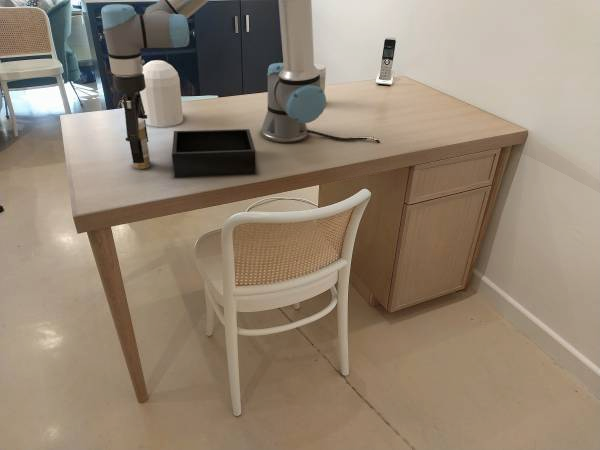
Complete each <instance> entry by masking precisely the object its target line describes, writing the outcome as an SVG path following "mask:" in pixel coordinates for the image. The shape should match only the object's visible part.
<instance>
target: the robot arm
mask: <svg viewBox="0 0 600 450" xmlns="http://www.w3.org/2000/svg"><path fill="white" fill-rule="evenodd" d="M209 1H210V0H158V1H157V2H155V3H153V4H150V5H149V6H148V7H146V8H145V10H144V14H139V13H137V12H136V11H135V8H134V6H132V5H130V4H122V3H121V4H120V3H115V4H113V3H112V4H107V5H104V6H103V7H101V11H100V14H101V21H102V29H103V34H104V38H105V44H106V48H107V54H108V61H109V66H110V72H111V74H113V75H112V82H113V86H114V90H115V91H117V92H118V93H122V94H124V97H123V99H122V101H123V102H122V104H123V108H124V118H125V127H126V137H125V141H126V142H129V146H130V152H131V153H130V154H131V158H132V163H133V164H134V163H144V157H143V151H142V145H141V139H140V137H139V124H138V118H141V119H147V115H144V114H145V111H144V107H143V103H142V99H141V95H140V91H143V90H144V89H145V88H146V84H145V78H144V74H143V73H142V72H143V66H144V65H145V64H146V63H145V60H144V59H143V58H142V52H141V49H165V48H166V49H170V48H171V49H172V48H173V49H178V48H184V47H188V46H189V44H190V29H189V22H188V19H189V18H190V17H191V16H192V15H194V14H195V13H196V12H197V11H199V10H200V8H202V7H203V6H205V4H207V3H208V2H209ZM312 6H313V5H312V0H278V12H279V13H278V15H279V25H280V36H281V37H280V39H281V48H282V49H281V51H282V62H276V63H275V62H274V63H271V64H270V65H269V66H268V67H267V74H266V77H267V111H266V114H265V117H264V120H263V123H262V126H261V135H262V137H263V138H264V139H266V140H268V141H271V142H274V143H275V142H276V143H281V144H290V143H298V142H301V141H303V140H305V139H307V136H308V134H313V135H318V136H320V137H324V138H329V139H332V140H336V141H345V142H348V141H358V140H360V141H362V140H363V141H364V140H368V139H367V138H352V137H339V136H334V135H331V134H326V133H322V132H319V131H315V130H312V129H308V126H307V124H308V123H311V122H314V121H316V120H317V119H318V118H319V117H321V115H322V114H323V112H324V111H325V109H326V106H327V95H326V94H325V91H323V90H322V89H321V88H320V71H319V70H318V69H317V68H316V67H315V66H314V64H315V53H314V30H313V29H314V28H313V7H312ZM144 122H145V120H144ZM145 133H146V138H147V143H149V136H148V131H147V124H146V123H145ZM133 135H134V136H133ZM372 137H373V138H374V136H372ZM371 140H372V141H375V142H376V143H377V144H381V141H380V140H379V139H378V140H374V139H371Z"/></svg>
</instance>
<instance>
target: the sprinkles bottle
mask: <svg viewBox="0 0 600 450" xmlns="http://www.w3.org/2000/svg"><path fill="white" fill-rule="evenodd" d="M138 124H139V137H140V139H141V145H142V151H143V157H144V163H133V167H134V168H135V169H137V170H138V169H139V170H145V169H148V168H149V167H151V165H152V163H151V161H150V160H151V159H150V152H149V145H148V142H147V138H146V133H145V122H144V120H143V119H141V118H138ZM133 136H134V135H133Z"/></svg>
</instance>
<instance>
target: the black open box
mask: <svg viewBox="0 0 600 450" xmlns="http://www.w3.org/2000/svg"><path fill="white" fill-rule="evenodd" d="M171 158H172V166H173V167H172V168H173V174H174V175H173V176H174V178H175V179H176V178H195V177H197V178H199V177H219V176H240V175H256V170H257V169H256V163H257V161H256V148H255V145H254V140H253V137H252V133H251V130H250V128H241V129H239V128H237V129H234V128H233V129H203V130H202V129H201V130H200V129H199V130H173V137H172V150H171Z"/></svg>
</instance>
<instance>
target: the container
mask: <svg viewBox="0 0 600 450" xmlns="http://www.w3.org/2000/svg"><path fill="white" fill-rule="evenodd" d="M142 66H143V72H142V73H143V74H144V78H145V84H146V88H145V89H144V90H143V91H140V95H141V99H142V103H143V107H144V111H145V114H144V115H147V119H143V120H145V123H146V126H150V127H155V128H168V127H173V126H177V125H179V124H181V123H182V122H183V121H184V114H183V113H184V112H183V104H182V91H181V82H180V81H181V80H180V76H179V72H178V71H177V70H176V69H175V68H174V66H173V65H171V64H170V63H168V62H167V61H165V60H160V59H157V60H150V61H149V62H147V63H144V64H143V65H142Z"/></svg>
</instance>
